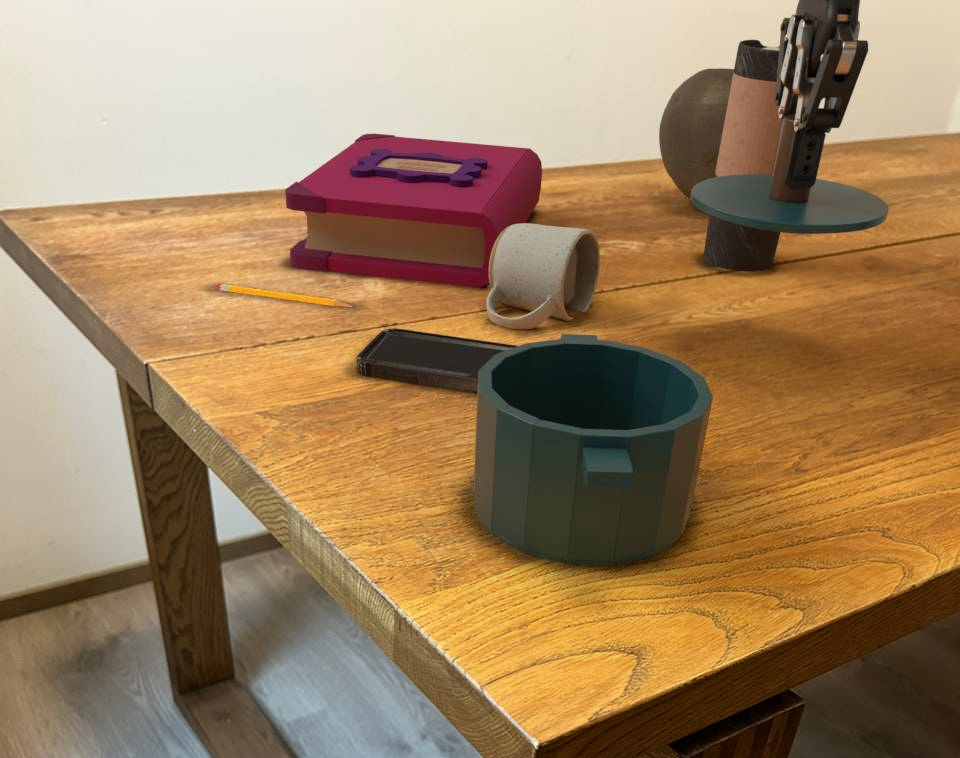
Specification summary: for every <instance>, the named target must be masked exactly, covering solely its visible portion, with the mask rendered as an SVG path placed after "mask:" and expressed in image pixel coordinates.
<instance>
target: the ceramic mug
mask: <svg viewBox="0 0 960 758" xmlns="http://www.w3.org/2000/svg"><path fill="white" fill-rule="evenodd" d="M600 262H601V254H600V245H599V241H598V238H597V236H596V235H595V232H593V231H592V230H590V229H587V228H578V227H577V228H576V227H569V226H568V227H567V226H566V227H565V226H558V225H557V226H555V225H545V224H538V223H532V222H531V223H530V222H526V223H521V224H514V225H510V226H508V227H506V228H505V229H504V230H503V231H502V232H501V233H500V235H499V236H498V238H497V240H496V241H495V243H494V246H493V248H492V252H491V255H490V260H489V287H490V289H491V290H490V291H489V293H488V295H487V297H486V303H485V304H486V311H487V312H486V313H487V315H488V319H489V320H490V321H491V322H492V323H493V324H496V325H498V326H501V327H502V328H503V327H504V328H508V329H513V330H514V329H515V330H533V329H536V328H538V327H539V326H541V325H542V324H543V323H545V322H546V321H547V320H548V319H549V318H554V319H557V320H561V321H566V322H570V321H573V320H574V317H571V316H569V315H568V313H567V311H566V308H570V309H573V310H576V311H579V312H583V313H584V312H587V311H588V309H590V308H589V307H590V305H591V303H592V301H593V300H594V299H593V298H594V296H595V294H596V291H597V286H598V281H599V275H600V267H601V266H600V264H601V263H600ZM498 303H502V304H503V305H506V306H508V307H510V308H511V307H512V308H514V309H519V310H522V311H523V310H524V311H529V313H526V314H524V315H520V316H516V317H506V316H503V315H500V314H498V313H497V312H496V310H495V308H496V306H497V305H498Z"/></svg>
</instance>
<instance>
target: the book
mask: <svg viewBox="0 0 960 758" xmlns="http://www.w3.org/2000/svg"><path fill="white" fill-rule="evenodd" d="M542 164H543V163H542V161H541V159H540V156H539V155H538V153H536V152H535V151H534V150H533V149H532V148H529V147H517V146H508V145H507V146H505V145H495V144H485V143H473V142H461V141H449V140H441V139H440V140H439V139H428V138H417V137H404V136H396V135H394V134H385V133H384V134H383V133H365V134H362V135H360V136H359V137H358V138H356V139H355V140H354V142H353V143H351V144H350V145H349V146H347V147H346V148H344V149H343V150H341V152H339V153H338V154H336V155H335V156H333V157H332V158H330V159H329V160H328V161H327V162H325V163H324V164H322V165H321V166H319V167H318V168H317V169H315V170H314V171H312V172H311V173H310V174H308V175H307V176H305V177H304V178H302V179H301V180H300V181H295V182H294V183H292V184H290V185H289V186H288V187H287V188H285V192H284V193H285V205H286V209H288V210H291V211H294V212H295V211H296V212H304V214H305V216H306V226H307V227H306V228H307V235H306V237H305V238H304V239H300V240H299V241H298V242H297V243H296V244H294V246H292V247H291V248H290V249H289V254H290V255H289V257H290V267H291V268H295V269H297V270H305V271H315V272H324V273H327V272H329V273H339V274H348V275H357V276H358V275H359V276H366V277H377V278H385V279H388V278H389V279H394V280H395V279H396V280H405V281H412V282H413V281H414V282H422V283H423V282H424V283H432V284H433V283H434V284H441V285H451V286H459V287H460V286H461V287H470V288H478V289H481V288H483V287H485V286H487V285H490V283H489V260H490V255H491V252H492V248H493V246H494V243H495V241H496V240H497V238H498V236H499V235H500V233H501V232H502V231H503V230H504V229H505V228H506V227H508V226H510V225H514V224H521V223H528V220H529V219H530V217H531V215H532V214H533V211H534V210H535V208H536V207H537V205H538V203H539V201H540V195H541V190H542V180H543V179H542V177H543V167H542V166H543V165H542Z"/></svg>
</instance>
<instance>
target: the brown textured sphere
mask: <svg viewBox="0 0 960 758" xmlns="http://www.w3.org/2000/svg"><path fill="white" fill-rule="evenodd" d="M733 73H734V68H721V67H719V68H705V69H702V70H699V71H697V72H696V73H694V74H693V75H691V76H690V77H688V78H687V79H685V80H684V81H683V82H682V83H681V84H680V85H679V86H678V87H677V88H676V89H675V90H674V91H673V92H672V94H671V96H670V98H669V100H668V101H667V103H666V105H665V108H664V110H663V112H662V116H661V120H660V123H659V128H658V129H659V130H658V134H659V135H658V142H659V143H658V144H659V149H660V151H659V152H660V156H661V160H662V164H663V166H664V170H665V171H666V173H667V175H668V176H669V177H670V179H671V180H672V182H673V184H674V185H675V187H676V188H677V189H678V190H679V192H681V193H682V194H683V195H684V196H685V197H687V198H688V199H690V200H691V191H692V188H693V187H694V186H695V185H696V184H697V183H699V182H701V181H704V180H707V179H711V178H715V175H716V174H715V172H716V166H717V161H718V155H719V150H720V144H721V139H722V133H723V128H724V122H725V117H726V111H727V106H728V100H729V95H730V89H731V84H732V78H733Z"/></svg>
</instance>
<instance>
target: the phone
mask: <svg viewBox="0 0 960 758" xmlns="http://www.w3.org/2000/svg"><path fill="white" fill-rule="evenodd" d="M517 346H518V345H515V344H510V343H508V344H507V343H502V342H500V343H499V342H495V341H488V340H481V339H474V338H467V337H460V336H453V335H446V334H439V333H433V332H432V333H431V332H424V331H418V330H411V329H404V328H395V327H394V328H393V327H391V328H386V329H385V328H384V329H382V330H381V331H380V332H379V333H378V334H377V335H376V336H375V337H374V338H373V339H372V340H371V341H370V342H369V343H368V344H367V345H366V346H365V347H364V348H363V349H362V350H361V351H360V352H359V353H358V354H357V355H356V357H355V358H356V360H355V361H356V373H358V374H359V375H360V376H362V377H369V378H376V379H380V380H381V379H382V380H389V381H395V382H399V383H408V384H414V385H420V386H425V387H432V388H433V387H434V388H440V389H446V390H453V391H459V392H467V393H473V394H477V389H478V371H479V370H480V369H481V368H482V367H483V366H484V365H485V364H486V363H487V362H488V361H489V360H490V359H491V358H492V357H493V356H494V355H496V354H498V353H501V352H503V351H506V350H509V349H512V348H514V347H517Z"/></svg>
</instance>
